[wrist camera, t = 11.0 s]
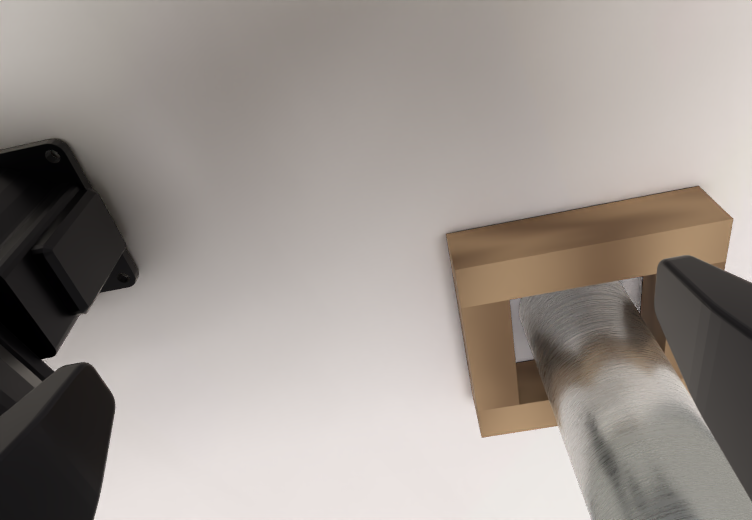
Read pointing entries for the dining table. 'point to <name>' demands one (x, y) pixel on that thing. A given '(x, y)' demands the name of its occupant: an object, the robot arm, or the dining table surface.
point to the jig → (566, 283)
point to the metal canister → (626, 412)
